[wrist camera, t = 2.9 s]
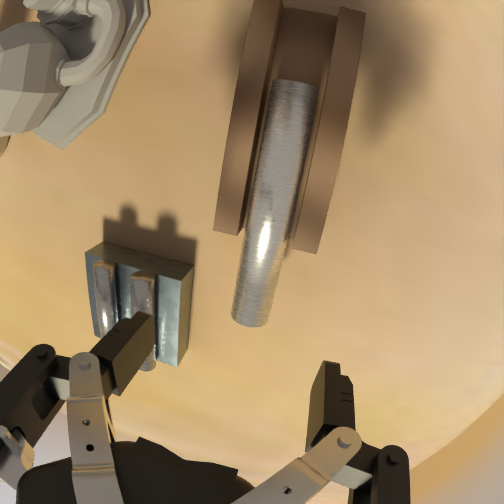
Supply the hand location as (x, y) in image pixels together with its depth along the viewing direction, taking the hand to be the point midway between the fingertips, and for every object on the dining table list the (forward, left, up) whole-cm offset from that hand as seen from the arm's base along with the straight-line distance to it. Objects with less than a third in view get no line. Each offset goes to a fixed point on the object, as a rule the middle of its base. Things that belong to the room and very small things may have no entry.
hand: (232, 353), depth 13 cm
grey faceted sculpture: (-11, +26, -13) cm, 31 cm away
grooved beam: (+5, +9, -13) cm, 16 cm away
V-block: (-14, -1, -13) cm, 19 cm away
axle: (+2, +4, -8) cm, 9 cm away
